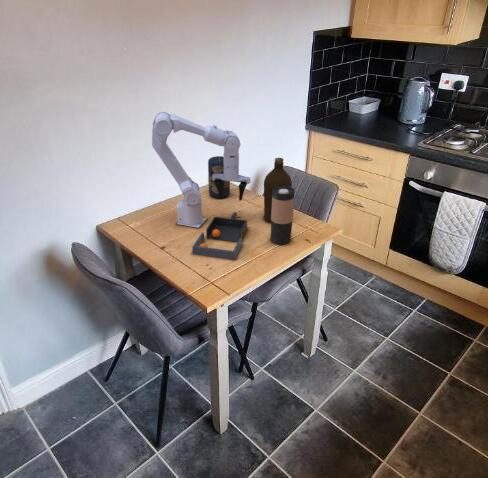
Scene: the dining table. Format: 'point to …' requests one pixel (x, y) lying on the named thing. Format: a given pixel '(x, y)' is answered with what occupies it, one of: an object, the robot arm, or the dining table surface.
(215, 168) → the canister
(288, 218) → the travel mug
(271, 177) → the olive oil
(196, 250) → the frame
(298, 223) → the dining table surface
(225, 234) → the scoop pan
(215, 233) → the ball
